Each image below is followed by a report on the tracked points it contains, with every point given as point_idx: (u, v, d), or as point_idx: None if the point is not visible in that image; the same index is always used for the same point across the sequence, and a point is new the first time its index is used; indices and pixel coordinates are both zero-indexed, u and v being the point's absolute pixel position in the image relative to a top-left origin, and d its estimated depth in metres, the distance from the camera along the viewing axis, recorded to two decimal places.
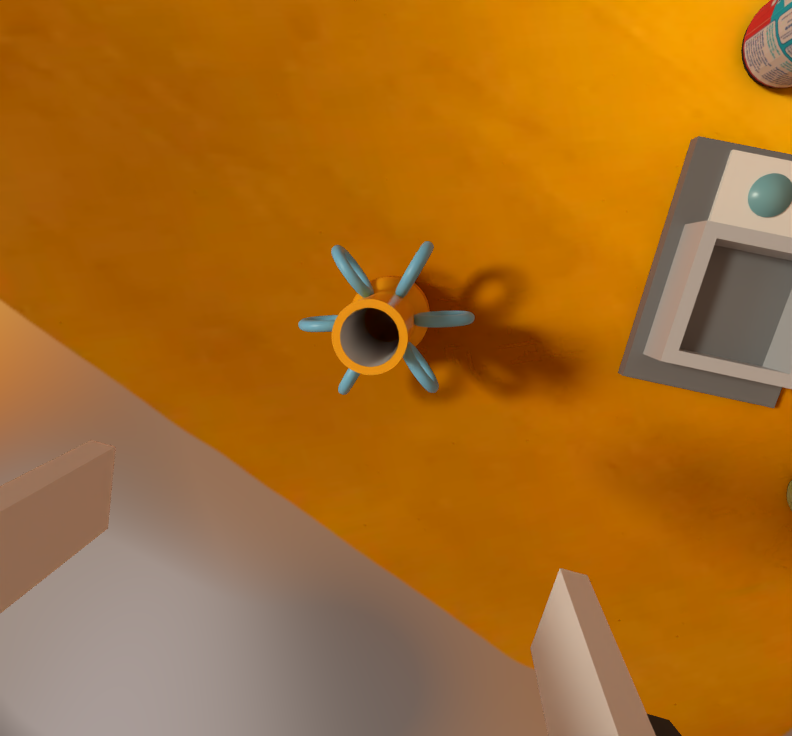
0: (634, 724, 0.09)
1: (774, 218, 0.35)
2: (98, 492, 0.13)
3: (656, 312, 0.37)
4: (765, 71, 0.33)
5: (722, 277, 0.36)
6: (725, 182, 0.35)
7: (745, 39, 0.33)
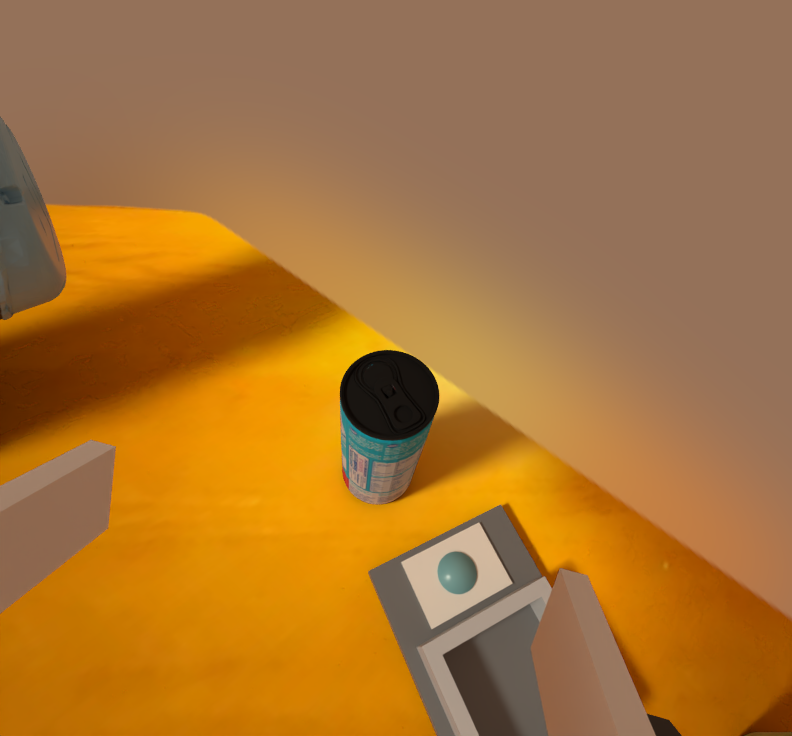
0: (634, 724, 0.09)
1: (475, 586, 0.36)
2: (98, 492, 0.13)
3: None
4: (376, 500, 0.38)
5: (485, 665, 0.34)
6: (417, 589, 0.36)
7: (348, 487, 0.40)
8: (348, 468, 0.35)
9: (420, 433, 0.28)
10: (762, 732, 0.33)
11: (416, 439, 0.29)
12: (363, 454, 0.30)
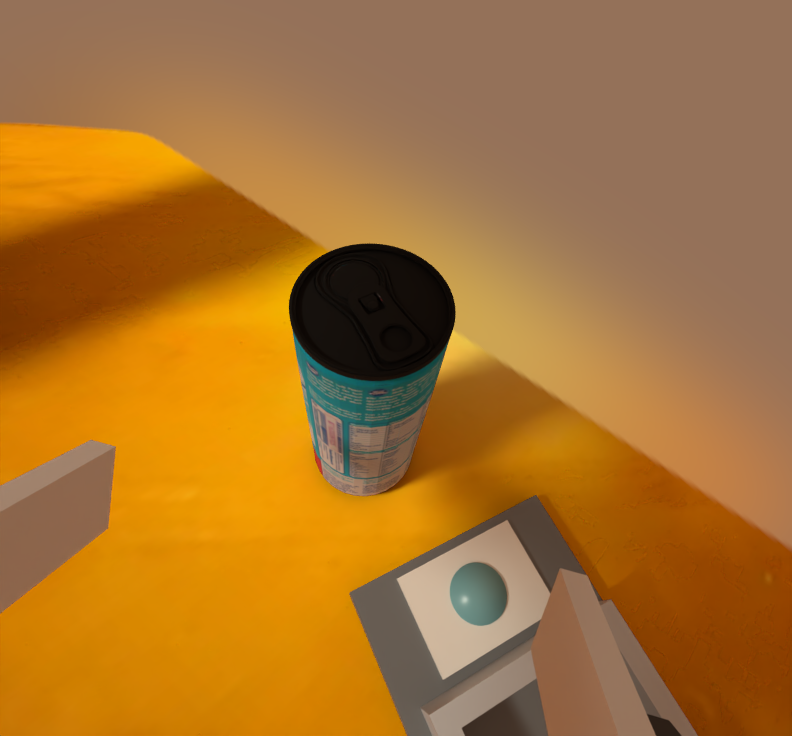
0: (634, 724, 0.09)
1: (506, 613, 0.25)
2: (98, 492, 0.13)
3: None
4: (360, 490, 0.27)
5: (524, 735, 0.23)
6: (420, 619, 0.24)
7: (321, 473, 0.28)
8: (317, 442, 0.24)
9: (425, 371, 0.17)
10: None
11: (418, 383, 0.17)
12: (332, 412, 0.19)
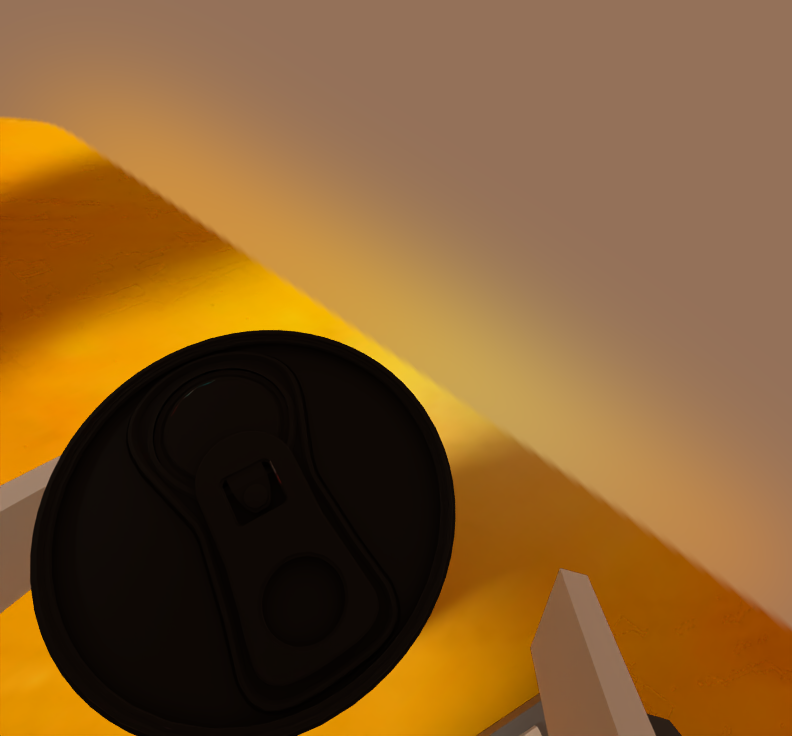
0: (634, 724, 0.09)
1: None
2: None
3: None
4: None
5: None
6: None
7: None
8: None
9: None
10: None
11: None
12: None
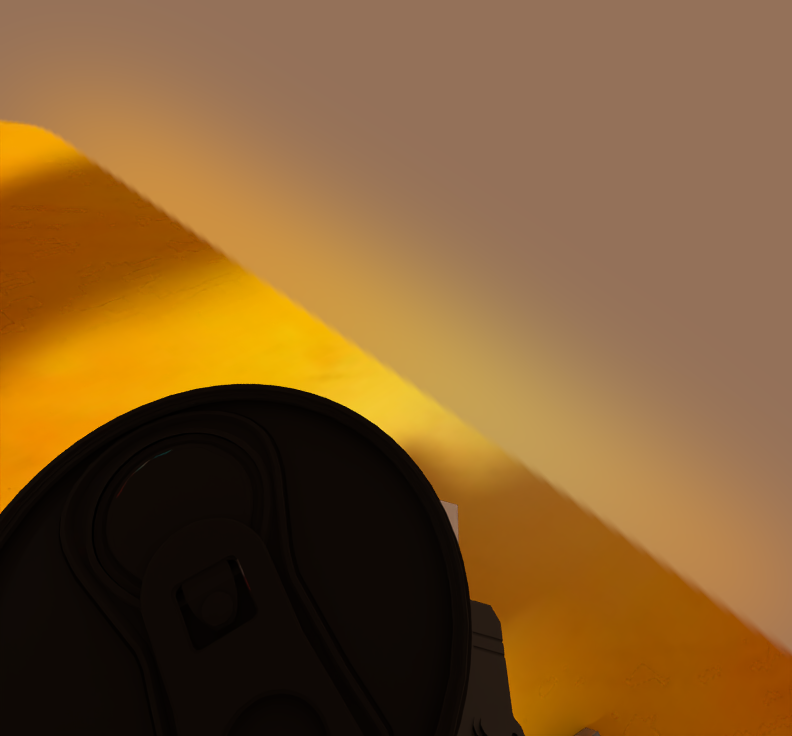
0: None
1: None
2: None
3: None
4: None
5: None
6: None
7: None
8: None
9: None
10: None
11: None
12: None
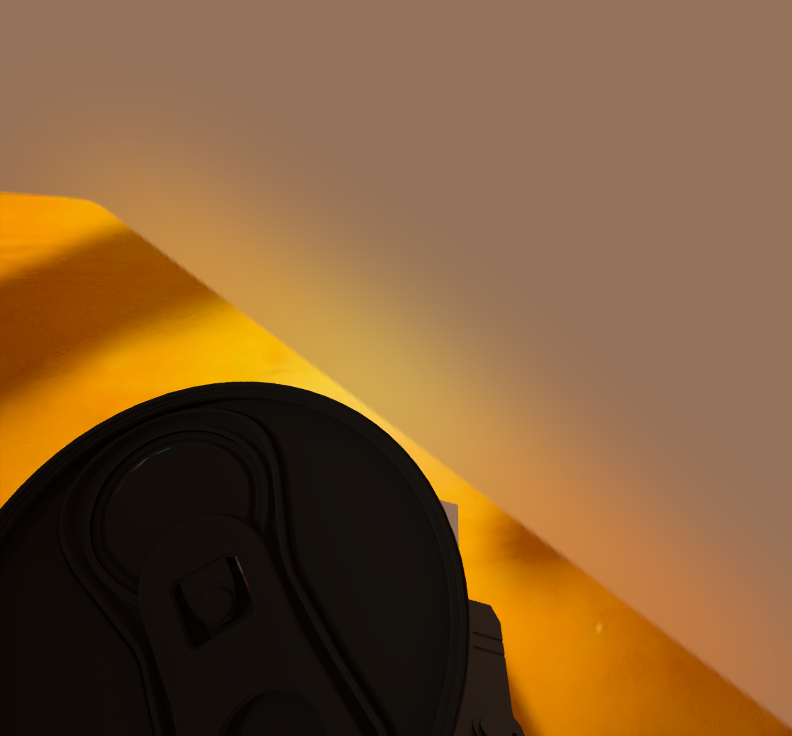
0: None
1: None
2: None
3: None
4: None
5: None
6: None
7: None
8: None
9: None
10: None
11: None
12: None
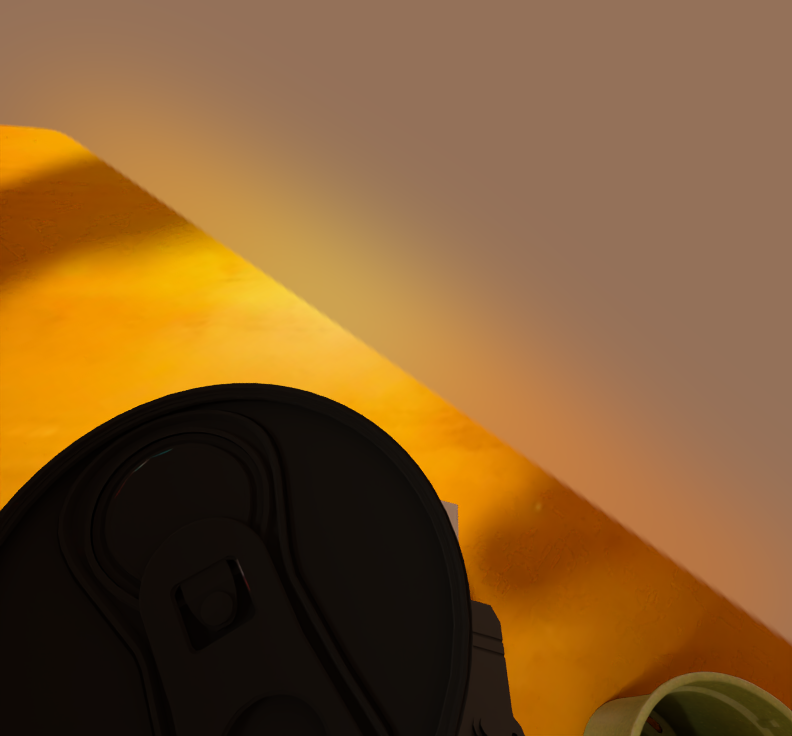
0: None
1: None
2: None
3: None
4: None
5: None
6: None
7: None
8: None
9: None
10: None
11: None
12: None
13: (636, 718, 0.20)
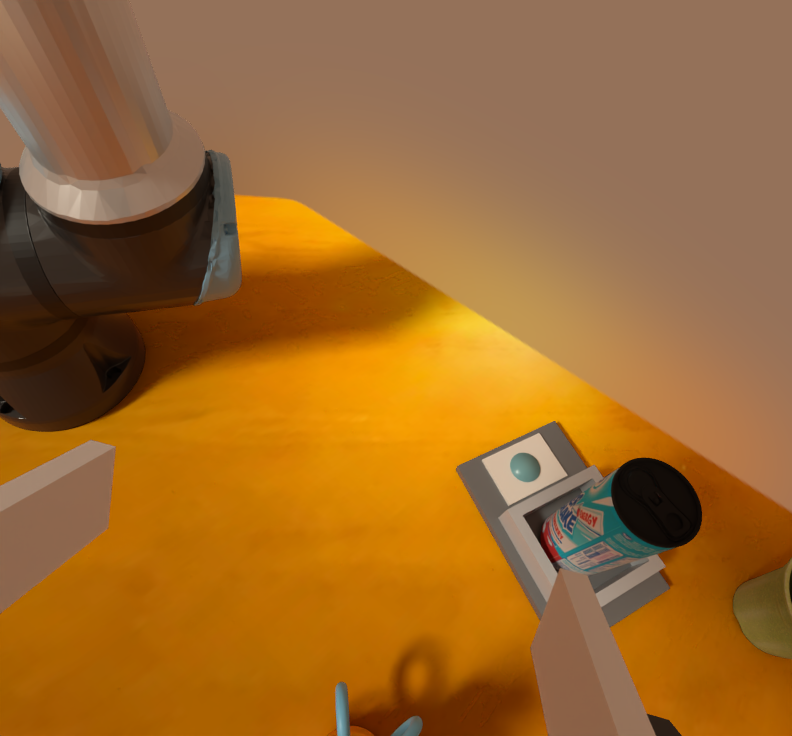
0: (634, 724, 0.09)
1: (540, 476, 0.47)
2: (98, 492, 0.13)
3: (538, 587, 0.42)
4: None
5: None
6: (495, 478, 0.47)
7: None
8: (574, 552, 0.38)
9: None
10: None
11: None
12: (621, 551, 0.33)
13: (786, 567, 0.38)
